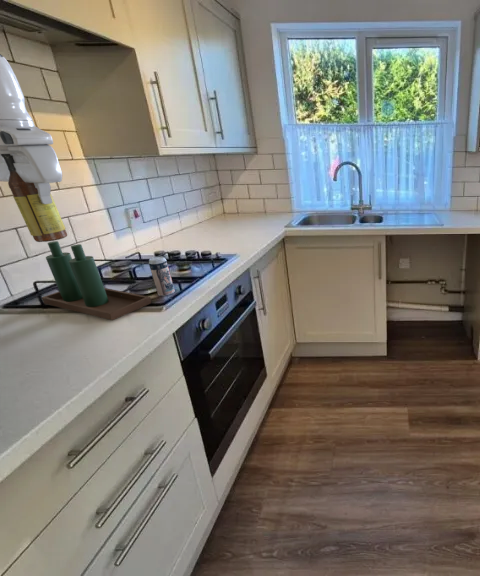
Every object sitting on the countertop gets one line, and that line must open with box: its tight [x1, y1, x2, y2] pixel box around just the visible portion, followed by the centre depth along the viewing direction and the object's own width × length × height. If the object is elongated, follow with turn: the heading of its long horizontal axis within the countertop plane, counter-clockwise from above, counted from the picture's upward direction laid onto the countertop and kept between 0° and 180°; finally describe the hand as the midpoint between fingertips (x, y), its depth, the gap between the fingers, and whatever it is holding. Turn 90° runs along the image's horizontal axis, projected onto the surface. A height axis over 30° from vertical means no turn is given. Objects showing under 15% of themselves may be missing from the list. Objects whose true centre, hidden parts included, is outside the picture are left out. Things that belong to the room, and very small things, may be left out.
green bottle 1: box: [45, 240, 83, 302], centre depth 109 cm, size 6×6×18 cm
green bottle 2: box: [69, 243, 109, 307], centre depth 105 cm, size 6×6×18 cm
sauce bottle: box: [1, 154, 68, 243], centre depth 80 cm, size 6×6×20 cm
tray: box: [41, 287, 152, 321], centre depth 108 cm, size 32×12×3 cm, turn 68°
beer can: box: [148, 255, 176, 297], centre depth 113 cm, size 5×5×12 cm
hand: (36, 202), depth 81 cm, fingers closed on sauce bottle, 6 cm apart
